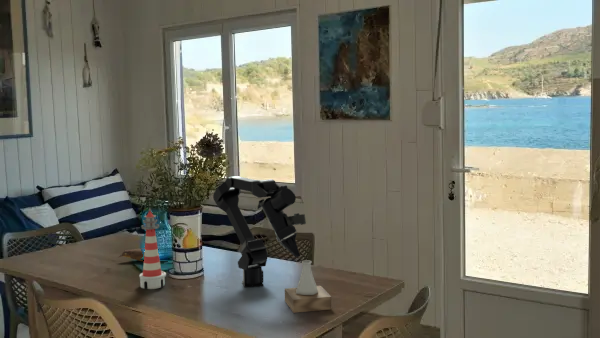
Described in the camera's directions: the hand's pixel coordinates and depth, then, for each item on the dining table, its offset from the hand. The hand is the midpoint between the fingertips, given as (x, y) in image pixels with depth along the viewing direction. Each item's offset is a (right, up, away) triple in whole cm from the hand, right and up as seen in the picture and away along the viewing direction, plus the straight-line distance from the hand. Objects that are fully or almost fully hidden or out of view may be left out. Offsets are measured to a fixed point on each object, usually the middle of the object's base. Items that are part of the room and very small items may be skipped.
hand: (297, 256), depth 204 cm
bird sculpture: (-61, -9, +49) cm, 79 cm away
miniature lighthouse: (-51, -12, +13) cm, 54 cm away
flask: (+3, -10, -10) cm, 14 cm away
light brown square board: (+3, -14, -9) cm, 17 cm away
